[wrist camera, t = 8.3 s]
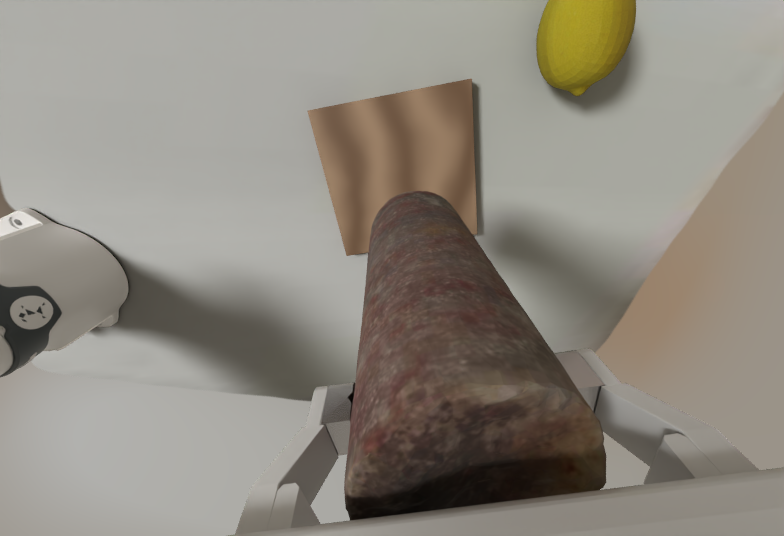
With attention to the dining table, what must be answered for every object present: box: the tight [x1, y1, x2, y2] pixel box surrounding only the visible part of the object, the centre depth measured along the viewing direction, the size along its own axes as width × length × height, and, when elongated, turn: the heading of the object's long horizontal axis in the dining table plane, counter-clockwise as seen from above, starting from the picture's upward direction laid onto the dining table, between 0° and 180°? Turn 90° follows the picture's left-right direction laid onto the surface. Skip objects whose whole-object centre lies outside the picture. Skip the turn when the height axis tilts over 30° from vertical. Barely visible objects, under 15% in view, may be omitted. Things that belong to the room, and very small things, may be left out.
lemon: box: [537, 0, 636, 96], centre depth 28 cm, size 11×8×8 cm
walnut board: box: [308, 79, 477, 256], centre depth 37 cm, size 18×18×2 cm
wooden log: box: [344, 191, 606, 521], centre depth 16 cm, size 8×7×20 cm
